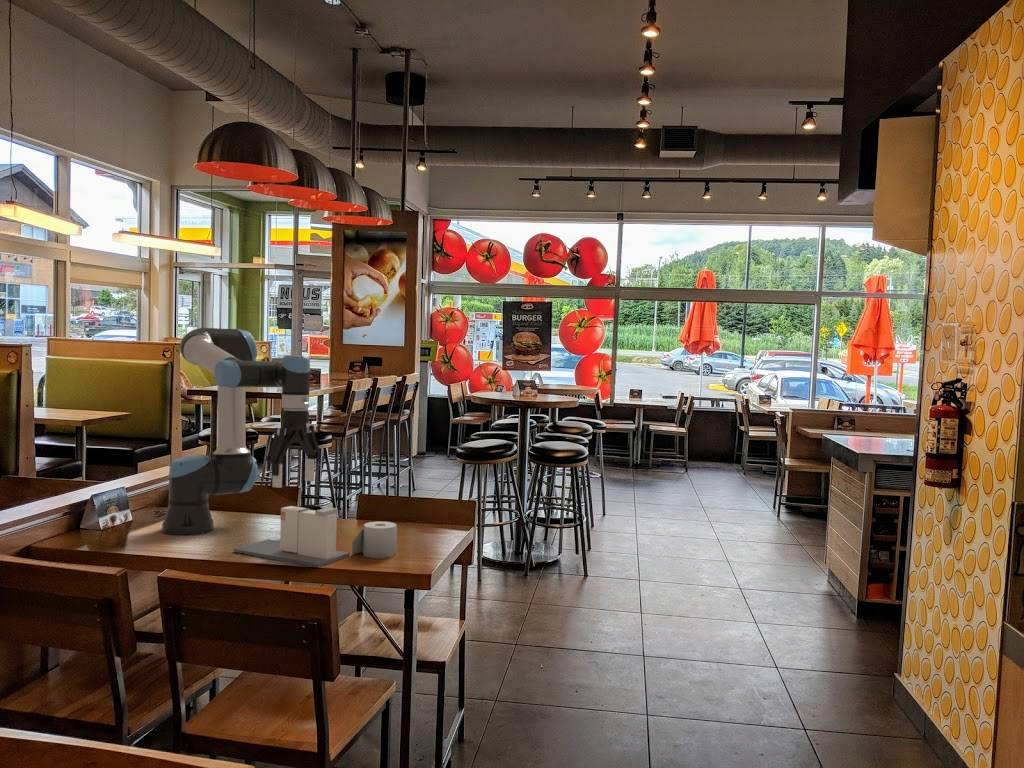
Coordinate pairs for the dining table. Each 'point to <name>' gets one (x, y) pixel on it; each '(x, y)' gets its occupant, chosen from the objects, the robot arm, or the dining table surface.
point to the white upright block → (289, 528)
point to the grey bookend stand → (305, 541)
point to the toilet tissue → (376, 540)
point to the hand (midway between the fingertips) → (293, 484)
